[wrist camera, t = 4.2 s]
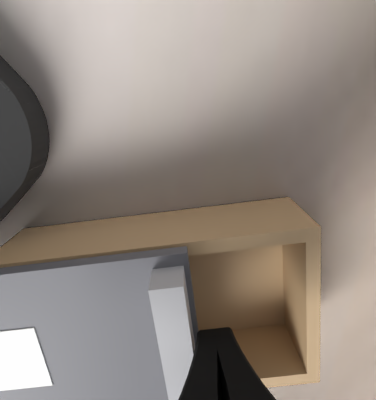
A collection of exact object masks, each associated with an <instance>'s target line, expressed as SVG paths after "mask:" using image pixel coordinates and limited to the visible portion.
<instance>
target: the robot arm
mask: <svg viewBox="0 0 376 400" xmlns="http://www.w3.org/2000/svg"><path fill="white" fill-rule="evenodd" d="M178 400H276V399H275V398H274V397H273V395H272V394H271V393H270V392H269V390H268V389H267V388H266V386H265V385H264V384H263V382H262V381H261V379H260V378H259V377H258V375H257V374H256V372H255V371H254V369H253V368H252V366H251V365H250V363H249V362H248V360H247V358H246V357H245V355H244V353H243V352H242V350H241V348H240V346H239V344H238V342H237V340H236V338H235V336H234V334H233V331H232V329H231V328H230V327H224V328H215V329H206V330H199V332H198V333H197V341H196V346H195V351H194V355H193V359H192V362H191V366H190V369H189V372H188V375H187V378H186V381H185V384H184V386H183V389H182V392H181V394H180V397H179V399H178Z"/></svg>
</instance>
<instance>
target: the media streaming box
mask: <svg viewBox="0 0 376 400" xmlns="http://www.w3.org/2000/svg"><path fill="white" fill-rule="evenodd" d="M48 151H49V132H48V126H47V122H46V118H45V115H44V112H43V109H42V107H41V105H40V103H39V101H38V99H37V97H36V95H35V94H34V92H33V91H32V89H31V88H30V87H29V86H28V85H27V84H26V83H25V81H24V80H23V79H22V78H21V77H20V76H19V75H18V74H17V73H16V72H15V71H14V70H13V68H12V67H11V66H10V65H9V64H8V63H7V62H6V61H5V60H4V59H3V58H2V57H1V56H0V221H1V220H2V219H3V218H4V217H5V216H6V215H7V214H8V213H9V212H10V210H11V209H12V208H13V207H14V206H15V205H16V204H17V203H18V201H19V200H20V199H21V198H22V197H23V196H24V194H25V193H26V192H27V191H28V190H29V189H30V187H31V186H32V185H33V184H34V183H35V181H36V180H37V179H38V178H39V176H40V175H41V173H42V171H43V169H44V167H45V164H46V161H47V157H48Z"/></svg>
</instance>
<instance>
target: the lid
mask: <svg viewBox="0 0 376 400" xmlns="http://www.w3.org/2000/svg"><path fill="white" fill-rule="evenodd" d="M198 332H199V330H198V323H197V315H196V308H195V301H194V293H193V286H192V279H191V271H190V264H189V257H188V249H187V246H182V247H174V248H165V249H157V250H148V251H140V252H131V253H123V254H114V255H105V256H97V257H88V258H80V259H71V260H63V261H54V262H46V263H37V264H29V265H20V266H11V267H3V268H0V400H178V399H179V397H180V394H181V392H182V389H183V386H184V384H185V381H186V378H187V375H188V372H189V369H190V366H191V362H192V359H193V355H194V351H195V346H196V341H197V333H198Z"/></svg>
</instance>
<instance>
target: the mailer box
mask: <svg viewBox="0 0 376 400" xmlns="http://www.w3.org/2000/svg"><path fill="white" fill-rule="evenodd" d="M182 246H187V249H188V257H189V264H190V271H191V279H192V286H193V293H194V301H195V308H196V315H197V323H198V330H206V329H215V328H224V327H230V328H231V329H232V331H233V334H234V336H235V338H236V340H237V342H238V344H239V346H240V348H241V350H242V352H243V353H244V355H245V357H246V358H247V360H248V362H249V363H250V365H251V366H252V368H253V369H254V371H255V372H256V374H257V375H258V377H259V378H260V379H261V381H262V382H263V384H264V385H265V386H266V388H269V387H279V386H288V385H298V384H307V383H317V382H320V295H321V226H320V225H318V224H317V223H316V222H315V221H314V220H313V219H312V218H311V217H310V216H309V215H308V214H307V213H306V212H305V211H304V210H302V209H301V208H300V207H299V206H298V205H297V204H296V203H295V202H294V201H293V200H292V199H291V198H290V197H284V198H275V199H267V200H259V201H250V202H242V203H233V204H225V205H217V206H208V207H200V208H192V209H183V210H175V211H167V212H158V213H150V214H142V215H133V216H125V217H117V218H108V219H100V220H92V221H83V222H75V223H67V224H58V225H50V226H42V227H33V228H25V229H22V230H21V231H20V232H19V233H17V234H16V235H15V236H14V237H13V238H11V239H10V240H9V241H8V242H6V243H5V244H4V245H3V246H1V247H0V268H3V267H11V266H20V265H29V264H37V263H46V262H54V261H63V260H71V259H80V258H88V257H97V256H105V255H114V254H123V253H131V252H140V251H148V250H157V249H165V248H174V247H182Z"/></svg>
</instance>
